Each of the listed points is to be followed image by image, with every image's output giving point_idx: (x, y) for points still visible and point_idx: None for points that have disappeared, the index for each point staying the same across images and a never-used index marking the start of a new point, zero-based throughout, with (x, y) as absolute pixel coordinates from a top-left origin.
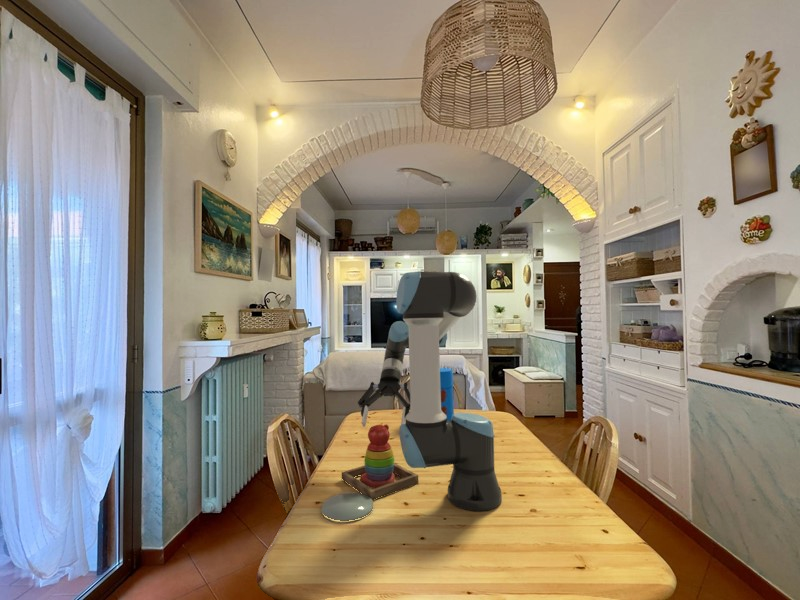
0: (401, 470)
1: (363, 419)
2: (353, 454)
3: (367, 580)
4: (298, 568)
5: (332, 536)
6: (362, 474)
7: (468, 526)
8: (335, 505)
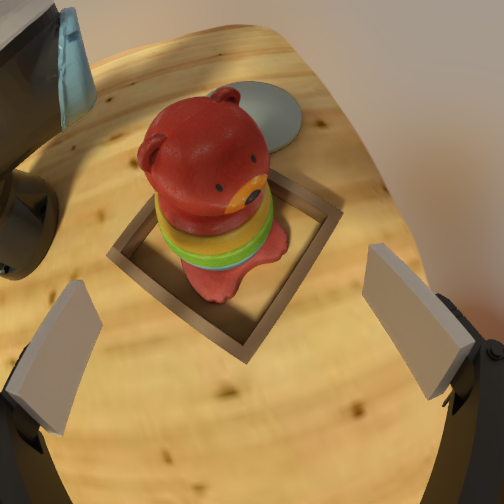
0: (162, 287)
1: (387, 258)
2: (393, 411)
3: (167, 43)
4: (245, 36)
5: (235, 66)
6: (285, 240)
7: (49, 145)
8: (271, 105)
